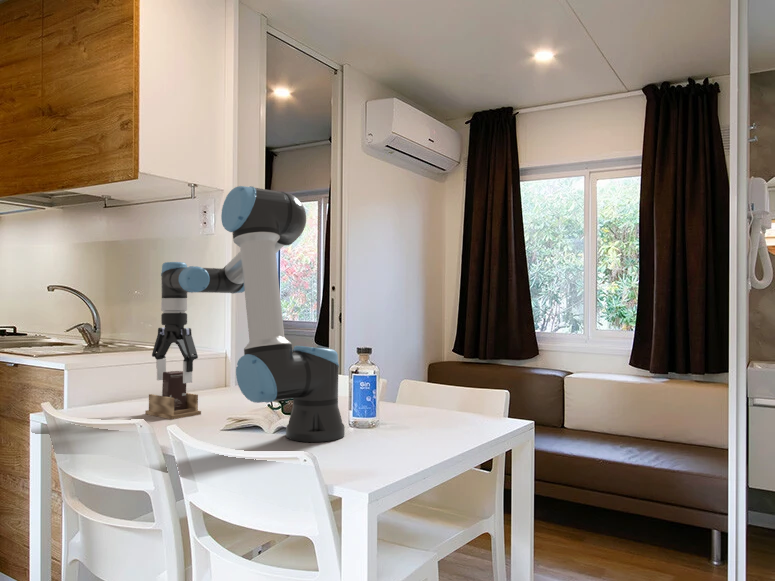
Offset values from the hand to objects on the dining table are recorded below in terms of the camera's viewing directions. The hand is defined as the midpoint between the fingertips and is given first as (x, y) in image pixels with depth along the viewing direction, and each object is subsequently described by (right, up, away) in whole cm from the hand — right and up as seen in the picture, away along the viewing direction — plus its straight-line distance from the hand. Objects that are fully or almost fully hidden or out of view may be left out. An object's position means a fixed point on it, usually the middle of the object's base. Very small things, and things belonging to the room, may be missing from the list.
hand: (174, 381), depth 184 cm
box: (0, -9, 0) cm, 9 cm away
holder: (0, -10, 0) cm, 10 cm away
